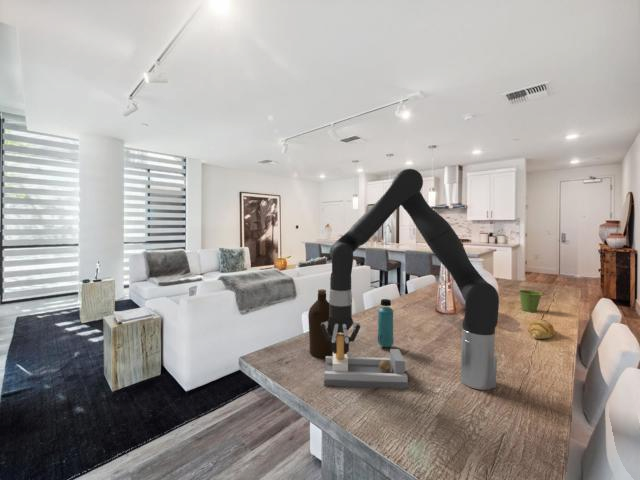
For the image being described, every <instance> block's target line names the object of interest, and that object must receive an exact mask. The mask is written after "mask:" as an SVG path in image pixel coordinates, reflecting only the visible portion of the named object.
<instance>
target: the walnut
mask: <svg viewBox="0 0 640 480" xmlns="http://www.w3.org/2000/svg"><path fill="white" fill-rule="evenodd" d="M379 369H380V370H381V371H382V372H384V373H387V372H389V371H390V369H391V364H390V362H389V361H387V360H382V361H380V363H379Z"/></svg>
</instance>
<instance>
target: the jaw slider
mask: <svg viewBox="0 0 640 480" xmlns="http://www.w3.org/2000/svg"><path fill="white" fill-rule="evenodd" d="M335 341H336V354H334V352H333V354H332V356H333V363H332V371H337V372H348V358H347V357H348V353H347V354H345V337H344V333H341V332H340V333H337V335H336V340H335Z"/></svg>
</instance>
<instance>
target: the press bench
mask: <svg viewBox="0 0 640 480" xmlns="http://www.w3.org/2000/svg"><path fill="white" fill-rule="evenodd" d="M347 358H348V372H337V371H332V363H333V355H331V356H326V357H325V364H324V365H325V367H324V371H323V373H324V374H323V377H324V378H323V382H324V383H323V386H328V387H329V386H330V387H331V386H333V387H354V388H355V387H356V388H358V387H359V388H360V387H361V388H381V389H382V388H383V389H384V388H385V389H408V388H409V383H408V377H409V376H408V374H407V373H405V372H406V371H405V370H406V367H405V366H406V361H405V358H404V356H403V355H402V353H401V351H400V349H398V348H397V349H395V348H390V351H389V357H372V356H371V357H370V356H368V357H367V356H366V357H365V356H347ZM382 360H387V361H389V362H390V364H391V369H390V371H389V372H387V373H384V372H382V371H381V370H380V369H379V363H380V361H382Z"/></svg>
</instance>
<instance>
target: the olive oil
mask: <svg viewBox="0 0 640 480" xmlns="http://www.w3.org/2000/svg"><path fill="white" fill-rule="evenodd" d="M307 316H308V334H309V335H308V336H309V339H308V340H309V354H310V355H311V356H312V357H315V358H326V356H333V352H332V343H331V341H327V340H326V338H325V336H324V333H323V331H322V329H321V323H322V322H326V321H328V319H329V300H327V290H326V289H322V288H321V289H318V290H317V299H316V301H315V302H314V303H313V304H312V305H311V306H310V308H309V310H308V314H307ZM327 330H328V333H329V335H330V336H332V334H333V330H332V328H331V327H330V326H329V324H328V328H327Z"/></svg>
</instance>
